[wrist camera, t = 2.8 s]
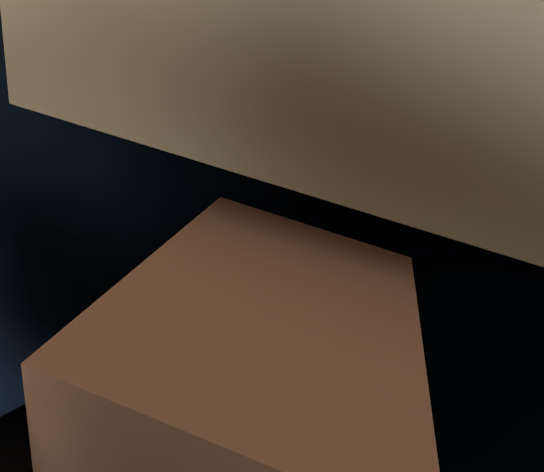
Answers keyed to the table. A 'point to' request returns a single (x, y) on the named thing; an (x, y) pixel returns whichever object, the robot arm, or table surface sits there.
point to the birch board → (314, 98)
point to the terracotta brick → (240, 359)
